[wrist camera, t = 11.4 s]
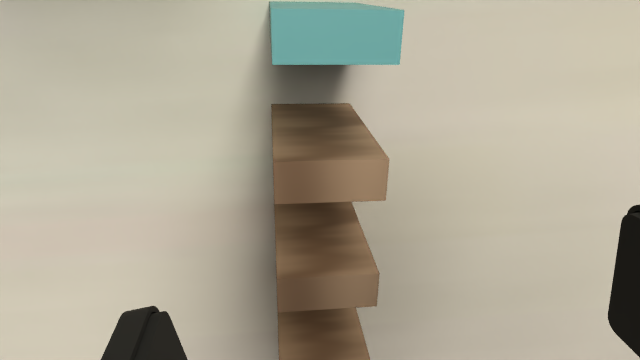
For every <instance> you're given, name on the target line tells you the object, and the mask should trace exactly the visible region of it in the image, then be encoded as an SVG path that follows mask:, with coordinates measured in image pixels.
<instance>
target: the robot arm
mask: <svg viewBox="0 0 640 360" xmlns="http://www.w3.org/2000/svg"><path fill="white" fill-rule="evenodd" d="M608 320H609V323H610V326H611V328H612V329H613V331H614V332H615V333H616V334H617V335H618V336H619V337H620V338H621V339H622V340H623V341H624V342H625V343H626V344H627V345H628V346H629V347H630V348H631V349H632V350H633V351H634V352H635V353H636V354H637V355H638V356H639V357H640V205H635V206H633V207H631V208H630V209H629V211H628V213H627V215H625V216H624V217H623V219H622V222H621V229H620V235H619V242H618V249H617V256H616V263H615V270H614V277H613V283H612V290H611V297H610V304H609V311H608ZM101 360H187V357H186V355H185V352H184V350H183V347H182V345H181V343H180V340H179V338H178V335H177V333H176V331H175V328H174V326H173V323H172V321H171V318H170V316H169V314H168V313H167V312H166V311H163V312H159V310H158V308H156V307H155V306H150V307H145V308H140V309H136V310H131V311H126V312H124V313H123V314H122V315H121V317H120V319H119V321H118V323H117V325H116V328H115V330H114V332H113V334H112V336H111V339H110V341H109V343H108V345H107V347H106V350H105V352H104V354H103V356H102V358H101Z"/></svg>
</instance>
